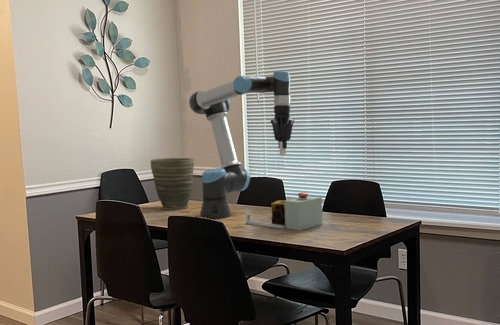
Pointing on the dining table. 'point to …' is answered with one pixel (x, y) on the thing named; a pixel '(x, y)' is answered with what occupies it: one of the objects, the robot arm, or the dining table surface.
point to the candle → (278, 212)
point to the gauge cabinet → (303, 213)
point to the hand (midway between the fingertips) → (282, 155)
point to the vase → (173, 181)
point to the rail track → (263, 223)
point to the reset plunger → (302, 196)
